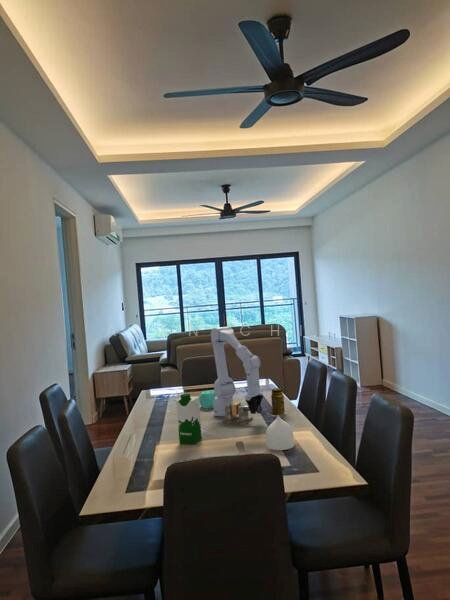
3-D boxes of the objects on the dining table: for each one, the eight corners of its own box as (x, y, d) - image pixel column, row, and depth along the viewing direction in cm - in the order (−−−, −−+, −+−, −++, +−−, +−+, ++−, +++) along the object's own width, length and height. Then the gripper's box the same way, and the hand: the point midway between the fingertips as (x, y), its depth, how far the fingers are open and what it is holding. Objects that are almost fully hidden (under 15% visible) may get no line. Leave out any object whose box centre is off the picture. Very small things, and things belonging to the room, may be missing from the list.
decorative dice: (210, 409, 232) (209, 394, 232) (199, 407, 237) (198, 392, 237) (220, 405, 238) (219, 390, 238) (208, 404, 243) (207, 389, 243)
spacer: (232, 415, 204) (231, 404, 204) (237, 412, 209) (236, 401, 209) (236, 415, 203) (235, 404, 203) (241, 412, 208) (240, 402, 207)
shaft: (229, 412, 205) (229, 404, 205) (233, 410, 209) (233, 402, 209) (258, 414, 198) (257, 406, 198) (261, 412, 202) (261, 404, 202)
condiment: (288, 413, 214) (286, 389, 214) (275, 417, 209) (273, 392, 209) (278, 410, 220) (277, 387, 220) (265, 414, 215) (264, 389, 215)
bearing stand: (223, 423, 204) (222, 407, 204) (233, 417, 213) (232, 402, 213) (243, 425, 199) (242, 408, 199) (252, 419, 207) (251, 403, 207)
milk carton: (176, 444, 179) (173, 395, 179) (185, 437, 187) (182, 390, 187) (196, 445, 176) (192, 396, 176) (204, 438, 184) (201, 391, 184)
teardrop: (275, 438, 178) (273, 409, 177) (299, 443, 171) (297, 412, 170) (260, 447, 169) (258, 416, 169) (284, 452, 162) (282, 420, 162)
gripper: (254, 386, 193) (256, 417, 193) (267, 380, 205) (269, 408, 206) (240, 386, 196) (242, 416, 196) (253, 379, 209) (255, 407, 209)
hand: (255, 412), depth 201 cm, fingers closed on shaft, 4 cm apart
